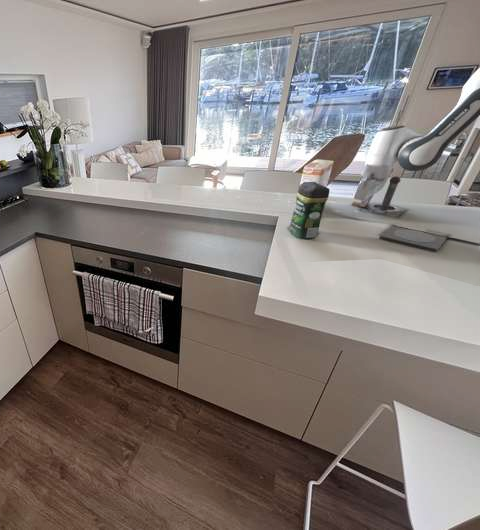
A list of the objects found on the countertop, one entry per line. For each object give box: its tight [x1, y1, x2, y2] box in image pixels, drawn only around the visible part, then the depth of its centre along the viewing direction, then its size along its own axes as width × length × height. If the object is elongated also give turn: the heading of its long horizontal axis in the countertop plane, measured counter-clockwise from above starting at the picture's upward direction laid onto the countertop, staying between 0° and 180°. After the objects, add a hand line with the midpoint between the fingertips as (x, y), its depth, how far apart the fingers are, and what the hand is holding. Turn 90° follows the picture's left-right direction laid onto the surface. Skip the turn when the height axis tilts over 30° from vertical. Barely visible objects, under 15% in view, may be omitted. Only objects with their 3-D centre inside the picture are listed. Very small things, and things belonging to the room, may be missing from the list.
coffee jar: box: [288, 182, 330, 240], centre depth 100 cm, size 10×8×19 cm
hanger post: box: [379, 176, 401, 210], centre depth 112 cm, size 12×12×14 cm
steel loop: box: [351, 201, 402, 215], centre depth 117 cm, size 15×9×1 cm, turn 36°
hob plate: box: [379, 225, 449, 253], centre depth 96 cm, size 14×14×1 cm
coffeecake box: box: [299, 159, 334, 188], centre depth 120 cm, size 15×7×20 cm, turn 134°
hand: (364, 205), depth 119 cm, fingers closed on steel loop, 1 cm apart
